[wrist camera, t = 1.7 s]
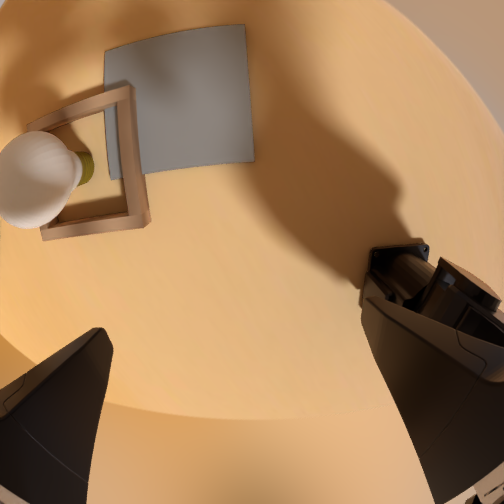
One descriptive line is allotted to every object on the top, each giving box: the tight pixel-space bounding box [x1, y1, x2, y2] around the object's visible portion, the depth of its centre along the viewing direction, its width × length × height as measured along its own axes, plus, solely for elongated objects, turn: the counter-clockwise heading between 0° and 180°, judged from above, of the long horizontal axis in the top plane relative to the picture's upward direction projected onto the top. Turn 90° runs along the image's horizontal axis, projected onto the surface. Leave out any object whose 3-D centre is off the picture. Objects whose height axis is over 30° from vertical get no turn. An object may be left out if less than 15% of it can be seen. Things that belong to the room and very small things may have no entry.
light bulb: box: [0, 131, 94, 229], centre depth 13 cm, size 6×6×10 cm
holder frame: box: [27, 85, 151, 241], centre depth 17 cm, size 10×10×2 cm
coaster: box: [104, 24, 255, 180], centre depth 16 cm, size 11×11×1 cm
